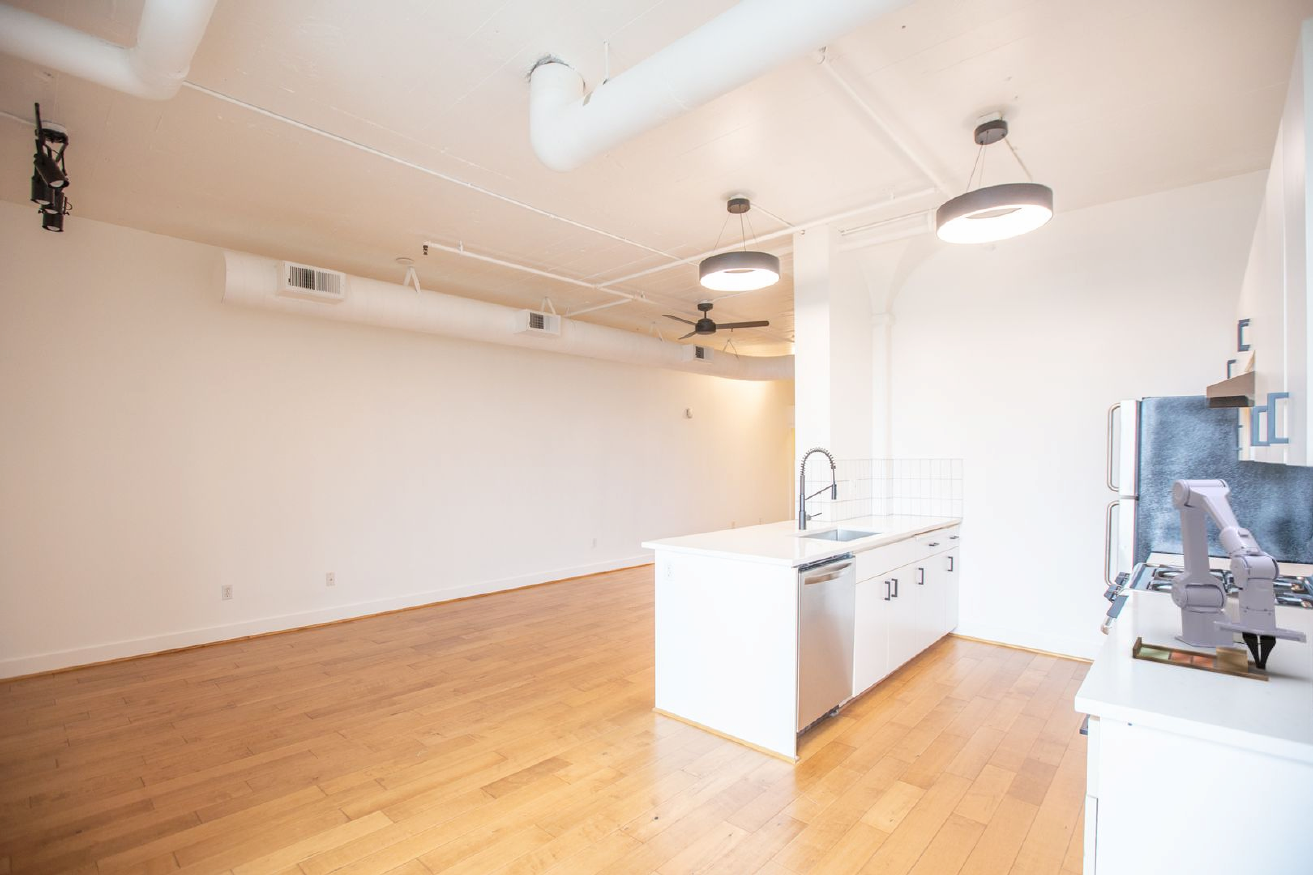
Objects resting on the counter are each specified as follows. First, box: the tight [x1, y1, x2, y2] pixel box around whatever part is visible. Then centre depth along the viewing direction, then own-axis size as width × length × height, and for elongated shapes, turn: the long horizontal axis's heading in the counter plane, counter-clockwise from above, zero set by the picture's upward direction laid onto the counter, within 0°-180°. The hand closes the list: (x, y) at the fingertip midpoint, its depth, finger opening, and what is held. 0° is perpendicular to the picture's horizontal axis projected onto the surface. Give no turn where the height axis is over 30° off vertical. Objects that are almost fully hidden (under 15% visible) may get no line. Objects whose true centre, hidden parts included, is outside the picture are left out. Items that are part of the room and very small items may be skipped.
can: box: [1223, 593, 1260, 645], centre depth 154 cm, size 6×6×12 cm
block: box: [1216, 646, 1248, 673], centre depth 134 cm, size 5×5×4 cm
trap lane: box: [1132, 636, 1269, 682], centre depth 139 cm, size 23×13×2 cm, turn 45°
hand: (1260, 668), depth 131 cm, fingers closed
